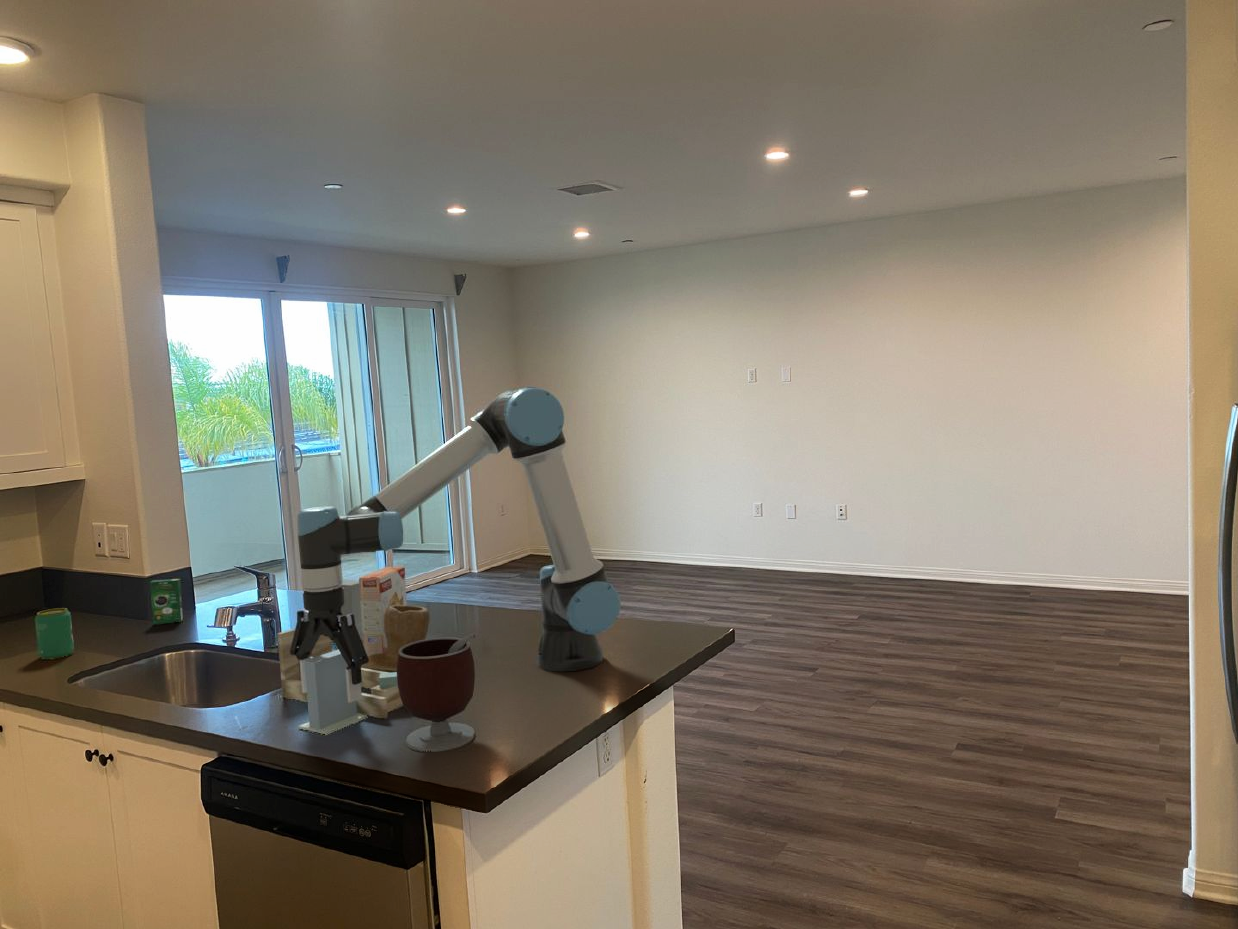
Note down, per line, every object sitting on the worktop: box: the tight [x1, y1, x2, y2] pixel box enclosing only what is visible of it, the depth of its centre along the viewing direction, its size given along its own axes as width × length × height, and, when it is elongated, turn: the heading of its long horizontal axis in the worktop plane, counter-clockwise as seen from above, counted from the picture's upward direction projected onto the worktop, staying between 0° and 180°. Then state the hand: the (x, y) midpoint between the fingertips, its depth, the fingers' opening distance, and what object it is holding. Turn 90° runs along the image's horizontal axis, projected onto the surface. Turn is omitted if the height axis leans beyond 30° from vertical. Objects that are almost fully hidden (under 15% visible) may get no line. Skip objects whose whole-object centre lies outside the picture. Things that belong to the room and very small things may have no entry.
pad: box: [298, 713, 369, 736], centre depth 176 cm, size 8×10×1 cm
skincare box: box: [332, 579, 363, 644], centre depth 238 cm, size 8×7×16 cm
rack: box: [276, 627, 389, 719], centre depth 190 cm, size 31×13×14 cm, turn 58°
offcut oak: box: [387, 697, 403, 712], centre depth 185 cm, size 5×9×2 cm, turn 152°
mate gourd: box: [397, 633, 476, 753], centre depth 164 cm, size 16×14×20 cm
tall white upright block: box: [304, 648, 357, 729], centre depth 175 cm, size 3×9×13 cm, turn 148°
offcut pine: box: [370, 685, 400, 702], centre depth 184 cm, size 4×7×2 cm, turn 150°
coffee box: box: [149, 578, 184, 626], centre depth 269 cm, size 8×3×13 cm, turn 103°
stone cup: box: [361, 604, 431, 673], centre depth 209 cm, size 15×12×15 cm
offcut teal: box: [379, 672, 398, 688], centre depth 184 cm, size 3×5×2 cm, turn 100°
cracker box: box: [358, 566, 408, 656], centre depth 221 cm, size 14×6×21 cm, turn 168°
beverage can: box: [34, 607, 75, 659], centre depth 238 cm, size 8×8×12 cm
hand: (331, 695), depth 175 cm, fingers open, 13 cm apart
